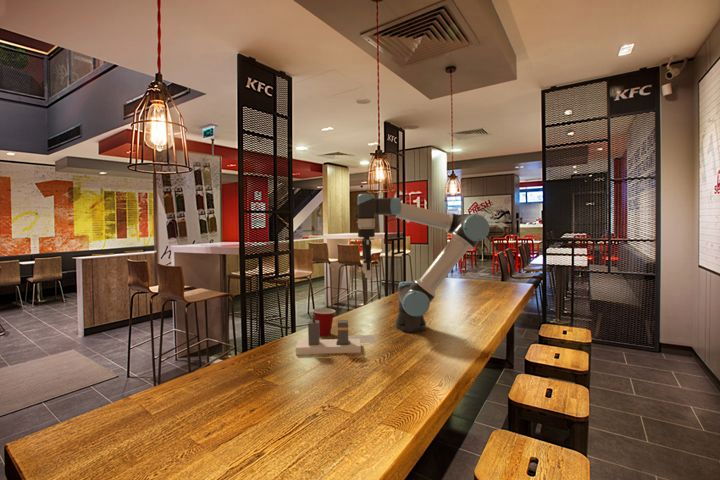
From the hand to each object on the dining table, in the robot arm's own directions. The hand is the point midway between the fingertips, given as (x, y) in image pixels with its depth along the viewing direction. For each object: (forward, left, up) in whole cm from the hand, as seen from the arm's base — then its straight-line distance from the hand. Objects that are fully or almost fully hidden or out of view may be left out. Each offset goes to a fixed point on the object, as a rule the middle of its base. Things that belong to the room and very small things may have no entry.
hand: (367, 275), depth 165 cm
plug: (+11, +16, -29) cm, 34 cm away
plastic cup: (+20, -4, -29) cm, 35 cm away
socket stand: (+17, +16, -29) cm, 37 cm away
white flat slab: (+3, +4, -29) cm, 29 cm away
